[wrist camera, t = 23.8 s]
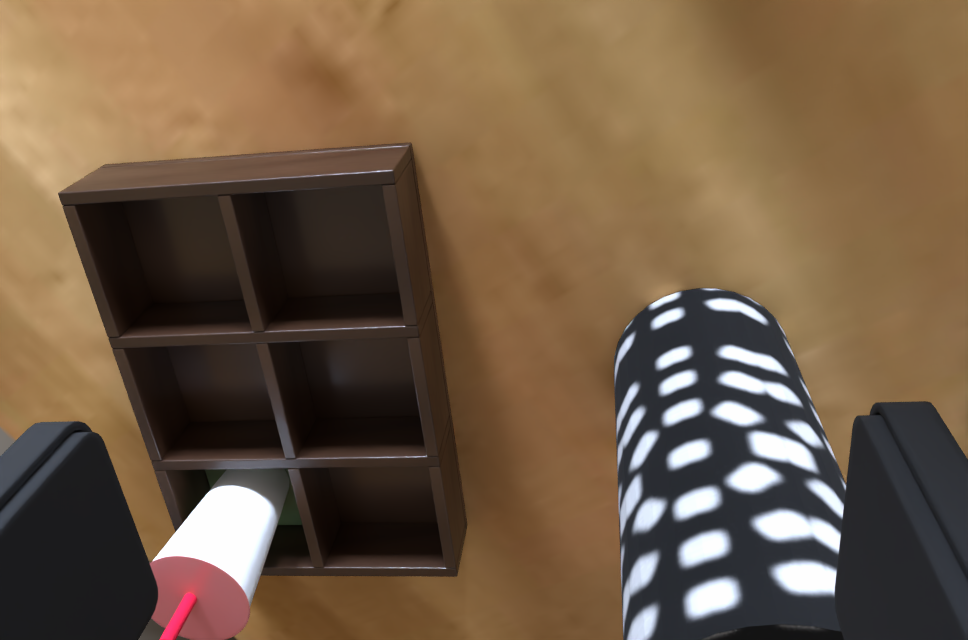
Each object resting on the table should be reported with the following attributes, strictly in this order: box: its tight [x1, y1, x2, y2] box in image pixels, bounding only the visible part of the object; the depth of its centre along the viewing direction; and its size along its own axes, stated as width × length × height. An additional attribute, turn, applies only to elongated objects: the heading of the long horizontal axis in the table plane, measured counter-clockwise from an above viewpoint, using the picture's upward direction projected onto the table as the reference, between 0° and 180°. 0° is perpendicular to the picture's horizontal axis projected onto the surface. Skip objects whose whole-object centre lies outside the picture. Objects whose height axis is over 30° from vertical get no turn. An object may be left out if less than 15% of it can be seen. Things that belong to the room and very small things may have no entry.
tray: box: [58, 143, 467, 577], centre depth 42 cm, size 22×15×4 cm
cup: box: [150, 468, 289, 640], centre depth 42 cm, size 5×5×12 cm
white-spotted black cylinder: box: [614, 288, 846, 640], centre depth 33 cm, size 8×8×20 cm
